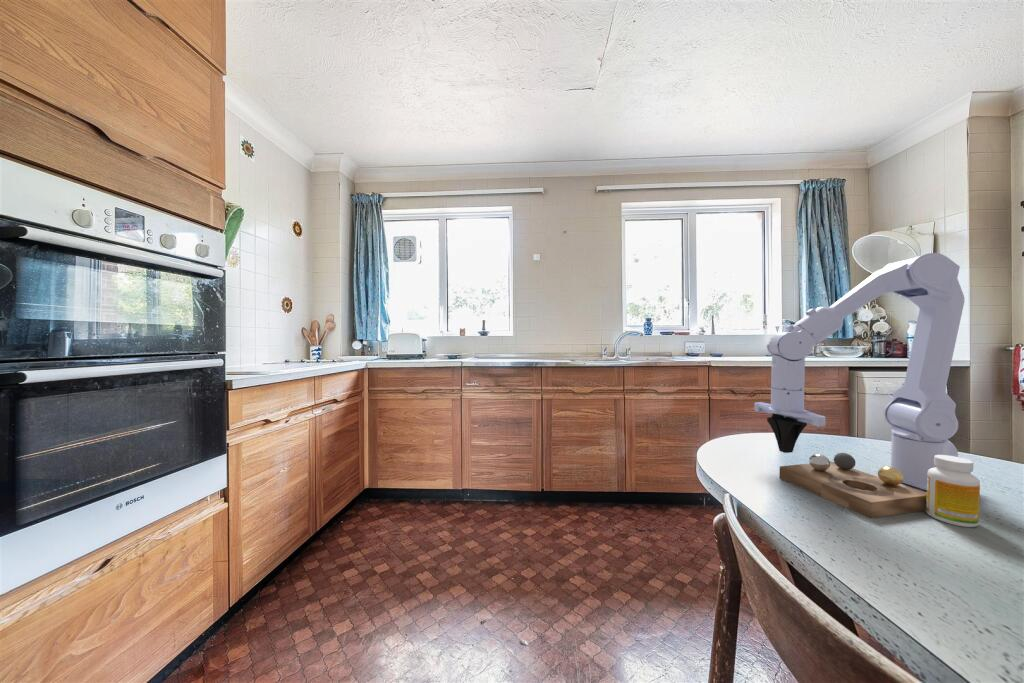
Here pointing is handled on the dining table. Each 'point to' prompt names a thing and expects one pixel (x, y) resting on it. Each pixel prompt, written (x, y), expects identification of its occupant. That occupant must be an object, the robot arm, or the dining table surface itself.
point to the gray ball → (844, 461)
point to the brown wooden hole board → (855, 490)
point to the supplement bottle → (953, 491)
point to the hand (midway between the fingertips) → (785, 451)
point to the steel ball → (819, 462)
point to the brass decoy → (890, 475)
